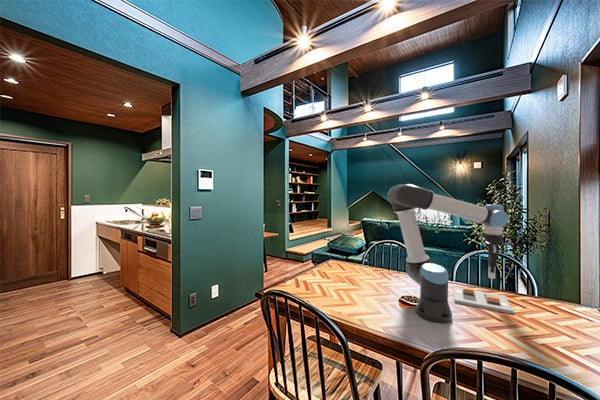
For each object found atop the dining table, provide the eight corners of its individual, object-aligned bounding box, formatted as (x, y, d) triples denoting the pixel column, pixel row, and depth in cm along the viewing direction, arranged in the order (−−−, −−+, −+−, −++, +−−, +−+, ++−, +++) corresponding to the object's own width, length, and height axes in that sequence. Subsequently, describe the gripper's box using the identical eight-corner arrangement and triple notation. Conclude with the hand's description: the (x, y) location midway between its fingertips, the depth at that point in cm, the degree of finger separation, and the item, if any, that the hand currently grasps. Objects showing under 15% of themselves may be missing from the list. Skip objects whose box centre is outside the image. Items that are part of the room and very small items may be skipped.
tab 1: (474, 294, 134) (474, 290, 134) (463, 292, 136) (463, 288, 136) (473, 292, 136) (473, 288, 136) (463, 290, 139) (463, 286, 139)
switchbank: (513, 314, 116) (513, 310, 116) (454, 302, 128) (454, 299, 128) (505, 298, 133) (505, 295, 133) (453, 289, 145) (453, 286, 145)
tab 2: (499, 303, 123) (499, 298, 123) (487, 301, 125) (487, 296, 125) (498, 301, 125) (498, 296, 125) (486, 299, 128) (486, 294, 128)
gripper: (505, 236, 119) (503, 283, 120) (500, 232, 130) (498, 275, 131) (486, 234, 123) (484, 280, 123) (482, 231, 134) (481, 273, 135)
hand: (491, 278), depth 127 cm, fingers closed
